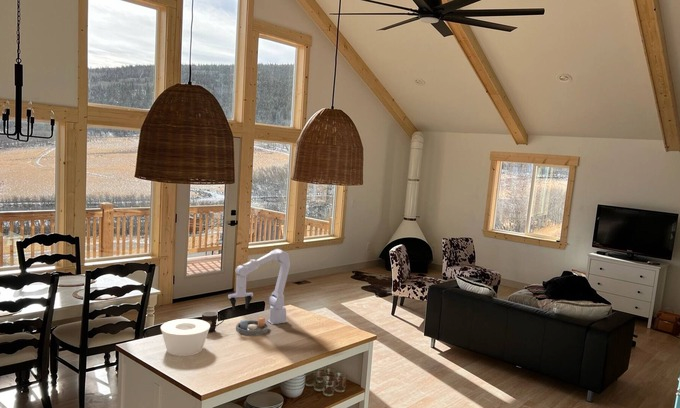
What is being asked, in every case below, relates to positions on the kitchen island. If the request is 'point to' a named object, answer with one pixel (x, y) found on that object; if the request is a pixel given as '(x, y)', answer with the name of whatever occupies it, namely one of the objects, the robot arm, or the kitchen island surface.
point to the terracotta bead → (261, 322)
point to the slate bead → (244, 324)
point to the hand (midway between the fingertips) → (240, 309)
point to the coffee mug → (211, 319)
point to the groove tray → (252, 329)
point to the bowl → (185, 336)
